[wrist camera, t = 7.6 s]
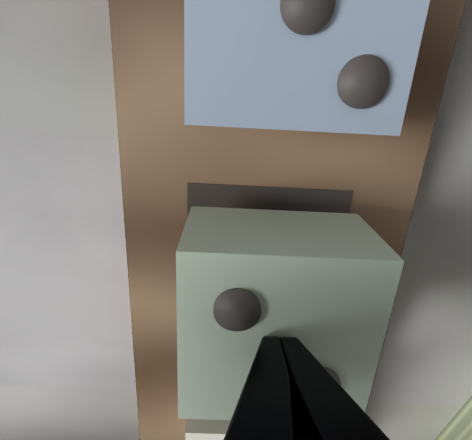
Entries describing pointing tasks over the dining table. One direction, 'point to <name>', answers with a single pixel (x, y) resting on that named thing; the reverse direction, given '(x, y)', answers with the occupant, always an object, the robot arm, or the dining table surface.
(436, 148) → the dining table surface
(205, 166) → the wooden plank tray
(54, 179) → the dining table surface
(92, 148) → the dining table surface
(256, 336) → the tile two
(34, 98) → the dining table surface
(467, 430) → the hardcover book
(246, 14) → the tile three
